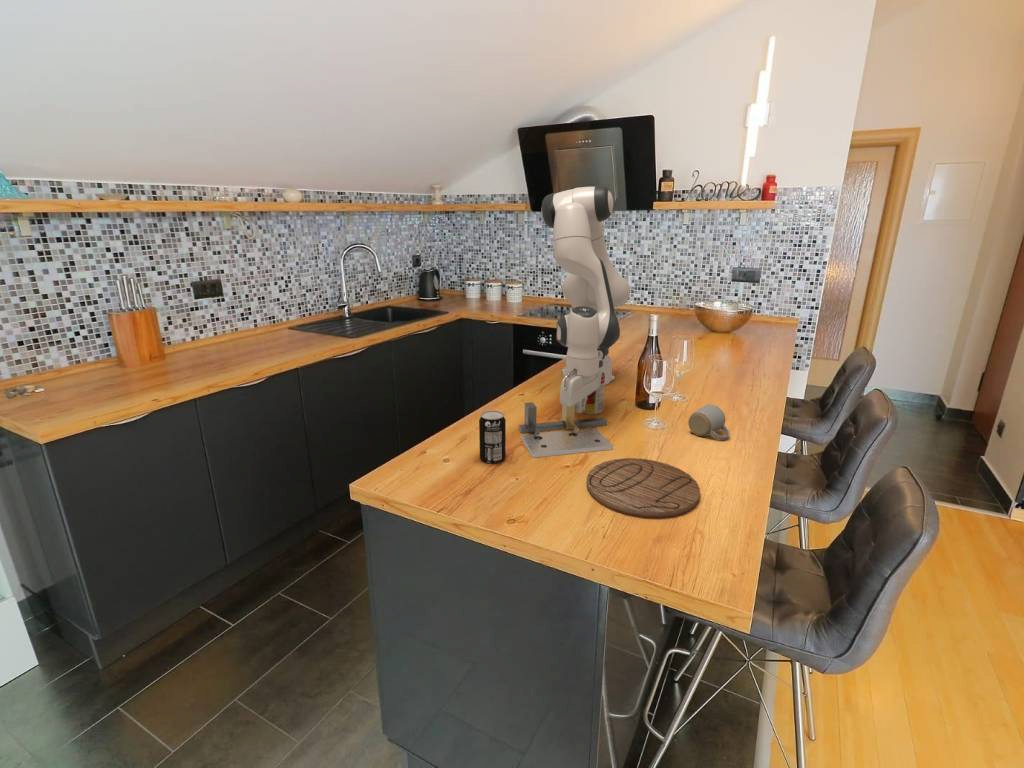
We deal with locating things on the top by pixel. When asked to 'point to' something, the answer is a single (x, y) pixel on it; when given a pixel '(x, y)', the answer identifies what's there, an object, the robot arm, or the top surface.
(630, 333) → the top surface
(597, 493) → the trivet
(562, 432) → the bolt plate
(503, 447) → the beverage can
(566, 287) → the robot arm
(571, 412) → the sliding leg
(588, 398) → the canned food
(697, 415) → the ceramic mug
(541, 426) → the rail
